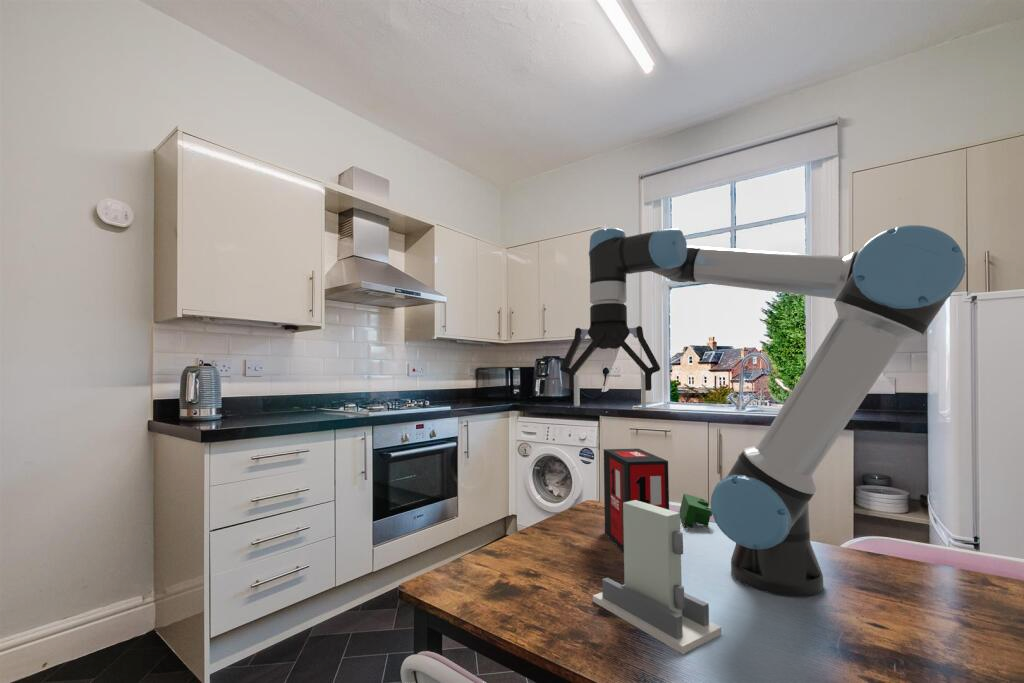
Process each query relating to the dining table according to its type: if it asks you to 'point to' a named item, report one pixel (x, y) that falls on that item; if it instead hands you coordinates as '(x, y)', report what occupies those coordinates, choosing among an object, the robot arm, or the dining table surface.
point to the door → (653, 553)
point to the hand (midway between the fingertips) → (609, 406)
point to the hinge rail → (660, 616)
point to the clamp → (694, 511)
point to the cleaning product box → (631, 486)
